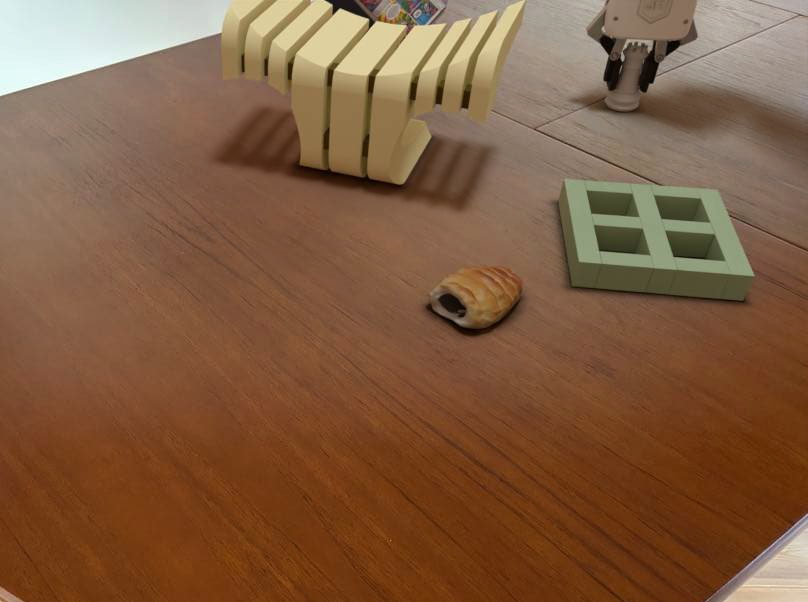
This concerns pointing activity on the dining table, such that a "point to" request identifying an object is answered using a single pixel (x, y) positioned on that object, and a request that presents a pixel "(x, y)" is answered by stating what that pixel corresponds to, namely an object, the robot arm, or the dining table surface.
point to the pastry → (476, 295)
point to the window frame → (652, 240)
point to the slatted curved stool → (366, 77)
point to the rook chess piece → (628, 79)
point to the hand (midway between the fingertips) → (626, 86)
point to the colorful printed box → (394, 11)
